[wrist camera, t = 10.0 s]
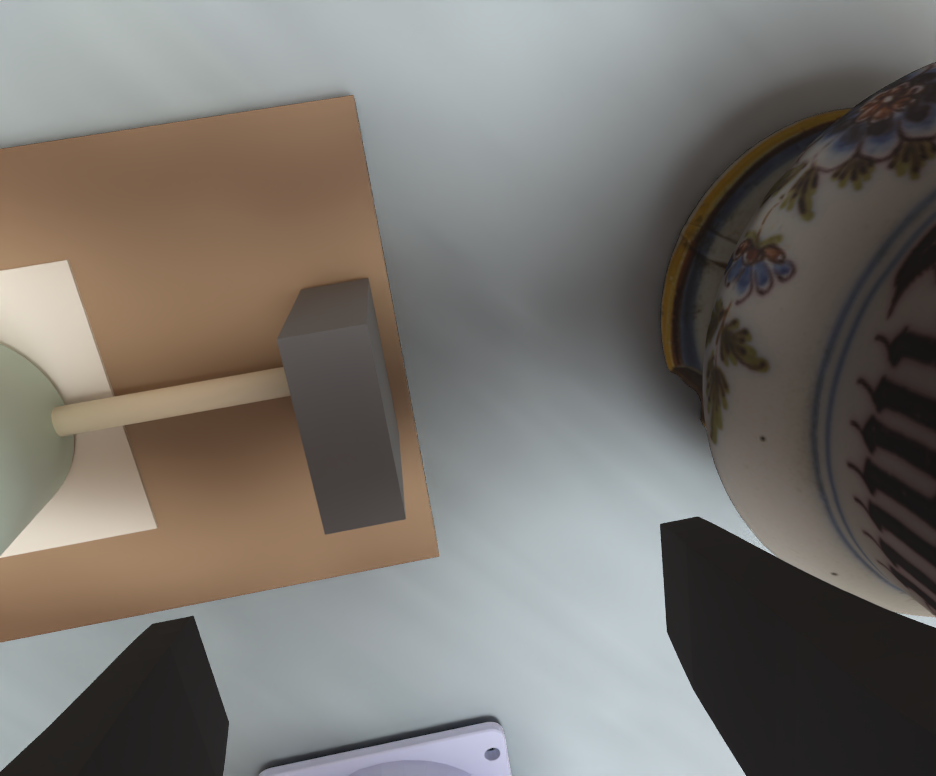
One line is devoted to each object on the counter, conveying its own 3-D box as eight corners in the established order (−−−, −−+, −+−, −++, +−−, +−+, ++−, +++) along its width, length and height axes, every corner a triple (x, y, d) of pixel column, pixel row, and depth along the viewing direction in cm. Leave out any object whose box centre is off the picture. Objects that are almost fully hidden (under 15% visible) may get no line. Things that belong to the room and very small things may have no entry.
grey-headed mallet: (402, 449, 19) (411, 555, 14) (-105, 544, 18) (-277, 688, 13) (364, 256, 17) (360, 302, 12) (-199, 351, 16) (-433, 438, 11)
